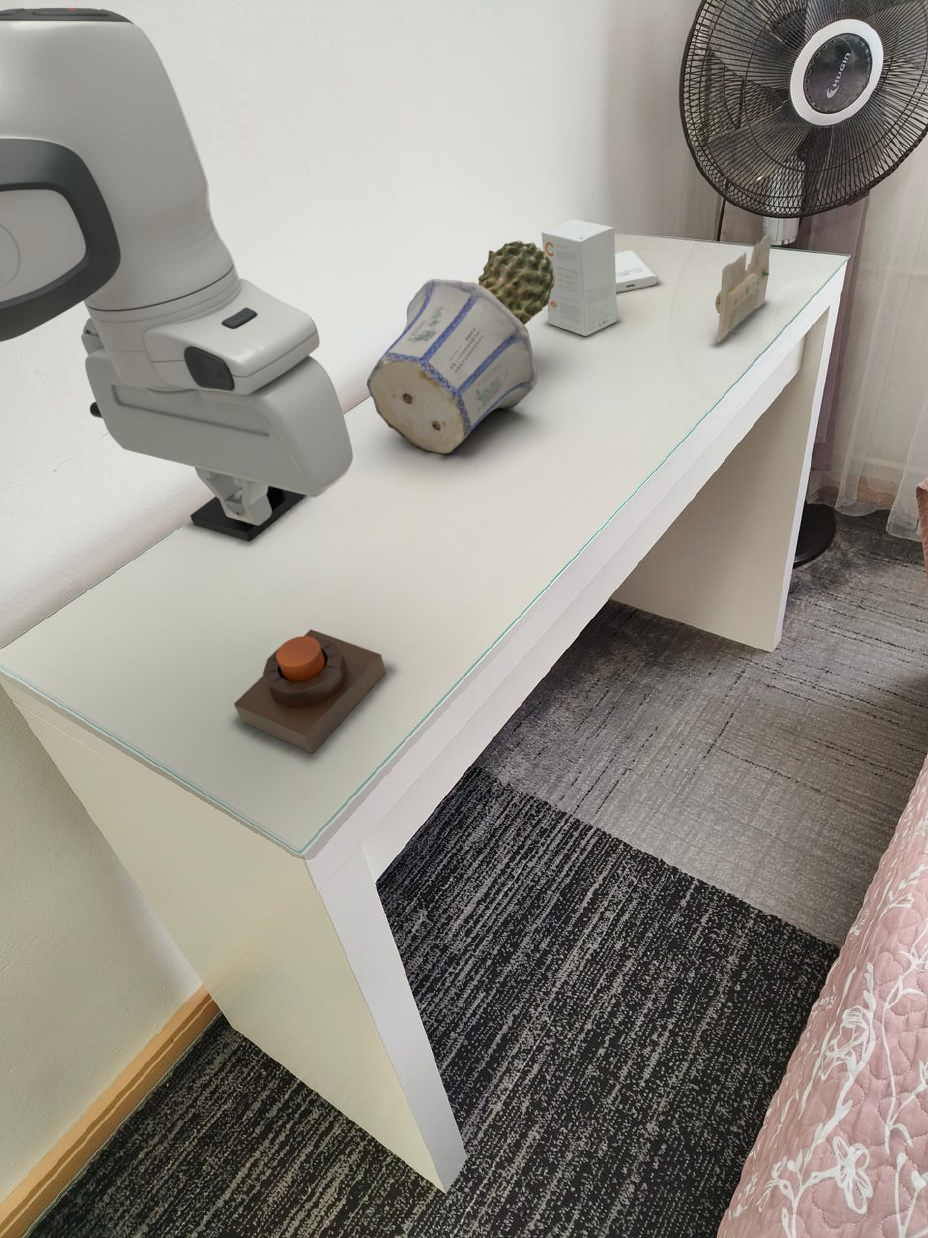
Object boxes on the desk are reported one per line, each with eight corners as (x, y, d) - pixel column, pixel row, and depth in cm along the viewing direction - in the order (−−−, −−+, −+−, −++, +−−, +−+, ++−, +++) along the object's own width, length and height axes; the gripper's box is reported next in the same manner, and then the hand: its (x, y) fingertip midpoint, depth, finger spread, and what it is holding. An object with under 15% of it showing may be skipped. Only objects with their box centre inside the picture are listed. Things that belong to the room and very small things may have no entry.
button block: (312, 754, 67) (299, 720, 65) (241, 721, 71) (226, 688, 69) (386, 672, 73) (376, 638, 71) (316, 646, 77) (305, 613, 75)
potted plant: (457, 360, 85) (585, 190, 97) (326, 347, 94) (458, 194, 106) (505, 484, 98) (612, 321, 110) (385, 462, 107) (497, 314, 120)
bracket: (249, 541, 92) (206, 427, 83) (193, 524, 96) (146, 414, 87) (319, 484, 99) (286, 373, 90) (264, 470, 103) (227, 363, 94)
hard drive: (633, 259, 139) (657, 284, 129) (584, 269, 139) (604, 295, 129) (633, 249, 138) (657, 274, 128) (584, 258, 137) (604, 284, 128)
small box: (618, 321, 121) (615, 226, 113) (585, 337, 119) (580, 241, 110) (579, 309, 126) (574, 217, 118) (547, 324, 124) (540, 231, 116)
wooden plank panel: (754, 301, 120) (760, 227, 113) (771, 303, 119) (778, 228, 112) (710, 344, 112) (714, 267, 105) (727, 346, 110) (733, 269, 104)
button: (306, 687, 68) (300, 671, 67) (273, 674, 70) (267, 658, 69) (333, 658, 70) (328, 643, 69) (301, 646, 72) (296, 631, 71)
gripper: (34, 334, 54) (123, 512, 63) (262, 370, 44) (329, 576, 53) (110, 295, 58) (184, 469, 67) (337, 321, 48) (388, 521, 57)
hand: (250, 517), depth 60 cm, fingers closed
